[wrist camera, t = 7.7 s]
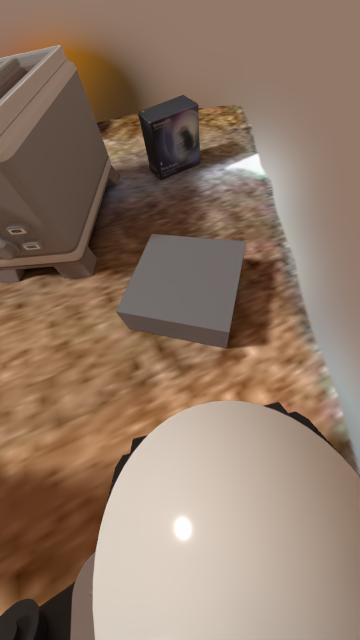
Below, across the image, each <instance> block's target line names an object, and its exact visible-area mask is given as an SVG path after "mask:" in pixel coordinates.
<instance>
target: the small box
mask: <svg viewBox="0 0 360 640" xmlns="http://www.w3.org/2000/svg"><path fill="white" fill-rule="evenodd" d="M138 115H139V119H140V123H141V128H142V133H143V137H144V142H145V147H146V151H147V156H148V160H149V167H150V169H151V170H152V171H153V172H154V173H155V174H156V175H157V177H158V178H159V179H160V180H162V179H164V178H166V177H169V176H171V175H173V174H176V173H178V172H180V171H183V170H185V169H188V168H190V167H192V166H195V165H197V164H200V145H199V117H198V104H197V103H196V102H194V101H192V100H191V99H189V98H187V97H186V96H184V95H182V96H179V97H177V98H174V99H172V100H169V101H166V102H164V103H161V104H158V105H156V106H153V107H151V108H148V109H145V110H143V111H140V112H138Z"/></svg>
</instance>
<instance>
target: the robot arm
mask: <svg viewBox="0 0 360 640" xmlns="http://www.w3.org/2000/svg"><path fill="white" fill-rule="evenodd" d="M264 407H267V408H270V409H274V410H276V411H278V412H280V413H283V414H285V415H287V416H289V417H291V418H293V419H295V420H296V421H298V422H300V423H301V424H303V425H304V426H306V427H308V428H309V429H310V430H312V431H313V432H314V433H316V434H317V435H318V436H320V437H321V438H322V439H324V440H325V441H326V442H327V443H328V444H329V445H330V446H331V447H332V448H333V449H335V448H334V447H333V446H332V445H331V444H330V442H329V441H327V440H326V438H325V437H324V436H323V435H322V434H321V433H320V432H319V431H318V429H317V428H316V427H315V426H314V425H313V424H312V423H311V421H310V420H309V419H307V418H306V417H304V416H302V415H301V414H299V413H297V412H292V413H287V411H286V410H285V409H284V408H283V406H282V405H281V404H280V403H279V402H277V403H273V404H269V405H265V406H264ZM147 436H148V435H147ZM147 436H143V437H139V438H135V439H133V441H132V446H131V452H130V454H126V455H123V456H122V458H121V459H120V461H119V463H118V464H117V466H116V468H115V472H114V476H113V480H112V484H111V488H110V492H109V494H110V495H111V492H112V490H113V487H114V485H115V483H116V481H117V479H118V477H119V475H120V473H121V471H122V469H123V467H124V466H125V464H126V463H127V461H128V460H129V458H130V457H131V455H132V453H133V452H134V451H135V450H136V448H137V447H138V446H139V445H140V443H141V442H142V441H143V440H144V439H145V438H146V437H147ZM335 450H336V449H335ZM336 451H337V450H336ZM337 452H338V451H337ZM338 453H339V452H338ZM346 462H347V461H346ZM347 463H348V462H347ZM354 471H355V470H354ZM355 472H356V471H355ZM356 473H357V472H356ZM359 477H360V476H359ZM110 495H109V497H108V500H109V498H110ZM107 503H108V501H107ZM96 547H97V546H96ZM95 553H96V550H95V552H94V553H93V554H92V555H91V556H90V557H89V559H88V560H87V561H86V562H85V564H84V565H83V567H82V568H81V570H80V572H79V574H78V576H77V579H76V581H75V582H74V583H73V584H72V585H70V586H69V587H68V588H66V589H65V590H63V591H62V592H60V593H59V594H58V595H56V596H55V597H53V598H52V599H50V600H49V601H47V602H46V603H45V604H43V605H42V606H40V607H39V606H38V605H37V603H36V602H35V601H34V600H32V599H24V600H21V601H19V602H17V603H15V604H14V605H12V606H11V607H10V608H9V609H7V610H6V611H5V612H4V613H3V614H2V615H1V616H0V640H95V633H94V620H93V574H94V563H95Z"/></svg>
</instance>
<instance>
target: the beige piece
mask: <svg viewBox="0 0 360 640" xmlns="http://www.w3.org/2000/svg"><path fill="white" fill-rule="evenodd" d="M93 620H94V633H95V640H360V477H359V475H358V474H357V473H356V472H355V471H354V469H353V468H352V467H351V466H350V465H349V464H348V463H347V462H346V460H345V459H344V458H343V457H342V456H341V455H340V454H339V453H338V452H337V451H336V450H335V449H333V448H332V447H331V446H330V445H329V444H328V443H327V442H326V441H325V440H324V439H322V438H321V437H320V436H318V435H317V434H316V433H314V432H313V431H312V430H310V429H309V428H308V427H306V426H304V425H303V424H301V423H300V422H298V421H296V420H295V419H293V418H291V417H289V416H287V415H285V414H283V413H280V412H278V411H276V410H274V409H270V408H267V407H264V406H261V405H258V404H253V403H248V402H242V401H216V402H209V403H204V404H200V405H196V406H193V407H191V408H188V409H185V410H183V411H181V412H179V413H177V414H175V415H174V416H172V417H170V418H168V419H167V420H166V421H164V422H163V423H162V424H160V425H159V426H157V427H156V428H155V429H154V430H153V431H152V432H151V433H150V434H149V435H148V436H147V437H146V438H145V439H144V440H143V441H142V442H141V443H140V445H139V446H138V447H137V448H136V450H135V451H134V452H133V453H132V455H131V457H130V458H129V460H128V461H127V463H126V464H125V466H124V467H123V469H122V471H121V473H120V475H119V477H118V479H117V481H116V483H115V485H114V487H113V490H112V492H111V495H110V498H109V500H108V503H107V505H106V509H105V512H104V516H103V519H102V523H101V526H100V531H99V536H98V542H97V547H96V553H95V563H94V574H93Z"/></svg>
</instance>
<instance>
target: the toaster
mask: <svg viewBox="0 0 360 640" xmlns="http://www.w3.org/2000/svg"><path fill="white" fill-rule="evenodd" d="M119 176H120V175H119V174H118V173H117V171H116V170H115V169H114V168H113V167H112V165H111V161H110V158H109V156H108V153H107V150H106V148H105V145H104V142H103V139H102V137H101V134H100V131H99V129H98V126H97V123H96V120H95V118H94V115H93V113H92V110H91V107H90V104H89V102H88V99H87V96H86V94H85V91H84V88H83V85H82V83H81V80H80V77H79V75H78V72H77V69H76V67H75V65H74V64H73V63H72V62H71V61H69V60H66V57H65V54H64V51H63V49H62V46H60V45H58V46H54V47H49V48H45V49H40V50H36V51H31V52H27V53H22V54H18V55H13V56H8V57H4V58H0V283H10V282H20V280H21V278H22V276H23V274H24V272H25V269H28V268H40V267H54V268H55V269H56V270H57V271H58V272H59V273H60V274H61V275H62V276H63V277H64V278H79V277H92V276H93V272H94V268H95V265H96V261H97V258H96V257H95V255H94V254H93V253H92V251H91V250H90V249H89V247H88V244H89V241H90V237H91V234H92V231H93V228H94V224H95V221H96V218H97V215H98V212H99V208H100V205H101V202H102V199H103V195H104V192H105V189H106V186H114V185H117V184H118V180H119Z"/></svg>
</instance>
